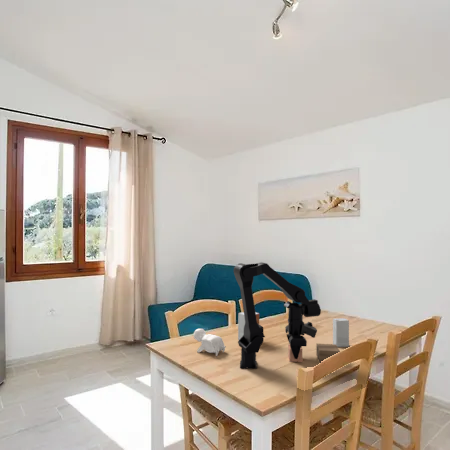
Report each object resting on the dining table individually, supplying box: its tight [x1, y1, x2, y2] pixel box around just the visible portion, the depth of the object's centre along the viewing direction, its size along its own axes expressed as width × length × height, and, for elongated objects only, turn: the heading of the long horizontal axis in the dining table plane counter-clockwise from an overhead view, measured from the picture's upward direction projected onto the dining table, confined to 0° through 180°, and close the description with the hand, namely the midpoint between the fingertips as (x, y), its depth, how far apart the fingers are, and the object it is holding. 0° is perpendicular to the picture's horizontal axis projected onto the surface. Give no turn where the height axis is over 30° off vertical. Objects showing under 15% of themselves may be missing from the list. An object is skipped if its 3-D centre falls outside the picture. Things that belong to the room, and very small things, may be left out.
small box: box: [237, 311, 260, 341], centre depth 160 cm, size 8×6×13 cm
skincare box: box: [332, 317, 350, 348], centre depth 154 cm, size 6×4×12 cm
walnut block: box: [315, 343, 341, 363], centre depth 138 cm, size 8×8×5 cm
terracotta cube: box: [287, 344, 303, 363], centre depth 138 cm, size 5×5×5 cm
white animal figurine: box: [193, 328, 227, 357], centre depth 147 cm, size 8×8×15 cm
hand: (295, 356), depth 138 cm, fingers closed on terracotta cube, 5 cm apart
